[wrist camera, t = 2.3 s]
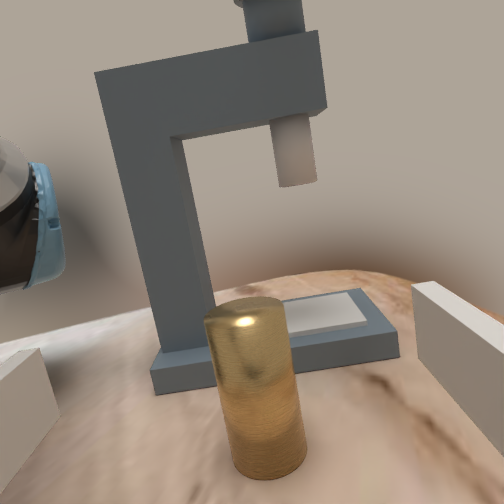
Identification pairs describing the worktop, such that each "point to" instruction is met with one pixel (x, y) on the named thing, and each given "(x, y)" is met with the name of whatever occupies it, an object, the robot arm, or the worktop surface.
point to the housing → (257, 386)
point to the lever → (238, 3)
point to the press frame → (181, 197)
